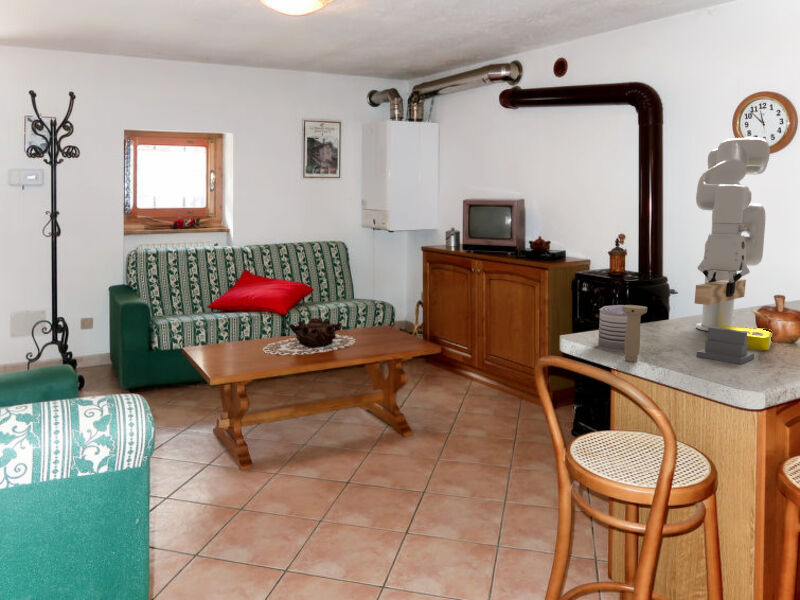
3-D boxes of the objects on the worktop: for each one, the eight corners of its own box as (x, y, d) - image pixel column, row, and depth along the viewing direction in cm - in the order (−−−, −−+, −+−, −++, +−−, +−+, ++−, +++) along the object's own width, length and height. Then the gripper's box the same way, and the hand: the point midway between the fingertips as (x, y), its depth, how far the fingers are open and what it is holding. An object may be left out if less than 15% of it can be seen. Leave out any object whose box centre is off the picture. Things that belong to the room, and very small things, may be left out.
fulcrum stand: (710, 351, 208) (712, 324, 207) (754, 358, 200) (756, 330, 199) (696, 356, 201) (698, 328, 200) (740, 364, 193) (743, 335, 192)
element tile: (771, 343, 223) (773, 328, 222) (768, 352, 210) (769, 336, 209) (719, 337, 230) (720, 322, 230) (713, 345, 218) (714, 330, 217)
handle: (641, 364, 191) (645, 309, 189) (617, 361, 194) (620, 306, 192) (645, 360, 195) (648, 306, 193) (621, 357, 198) (624, 304, 196)
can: (645, 351, 207) (648, 310, 205) (609, 352, 205) (611, 311, 203) (625, 342, 218) (627, 304, 216) (590, 343, 216) (593, 304, 214)
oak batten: (730, 295, 210) (731, 278, 209) (744, 296, 207) (745, 279, 206) (694, 303, 193) (695, 285, 192) (709, 305, 190) (710, 286, 190)
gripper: (763, 231, 194) (757, 297, 197) (702, 228, 206) (697, 291, 208) (752, 231, 189) (746, 300, 191) (690, 228, 200) (685, 293, 203)
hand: (720, 294), depth 200 cm, fingers closed on oak batten, 4 cm apart
